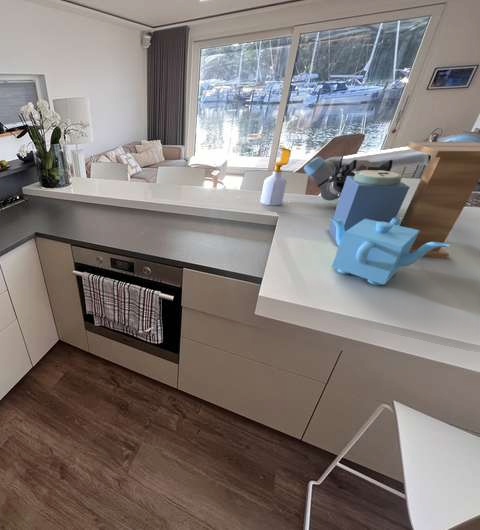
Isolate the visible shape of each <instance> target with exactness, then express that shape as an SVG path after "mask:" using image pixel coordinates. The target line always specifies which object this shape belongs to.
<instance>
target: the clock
mask: <svg viewBox="0 0 480 530" xmlns="http://www.w3.org/2000/svg"><path fill="white" fill-rule="evenodd" d="M355 170H356V171H357V172H355V173H356V174H355V176H354V180H355V181H357V182H360V183H365V184H371V185H396V184H399V183H400V181H401V182H402V178H403V174H402V173H398V172H394V171H391V170H390V171H381V170H379V167H378V166H377V165H375V164H373V163H371V162H370V161H368V160H357V163H356V168H355Z"/></svg>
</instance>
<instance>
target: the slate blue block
mask: <svg viewBox="0 0 480 530" xmlns="http://www.w3.org/2000/svg"><path fill="white" fill-rule="evenodd" d="M410 187H411V186H409V185H407V184H405V183H404V182H402V180H401V181H400V183H399V184H396V185H371V184H365V183H360V182H357V181H355V180H354V176H347V178H346V181H345V184H344V187H343V190H342V193H341V196H340V197H339V198H338V202H337V204H336V208H335V211H334V214H333V216H332V218H336V219H339V220H341V221H342V222H343V224H344V228H345V232H346V231H347V230H348V229H350V228H351V227H353V226H354V225H356V224H357V223H359V222H360V221H362V220H364V219H369V220H374V221H379V222H387V223H390V221H391V220H392V219H393V218H394V217H398V214H399V212H400V209H401V207H402V205H403V203H404V201H405V199H406V196H407V194H408V192H409V189H410ZM328 233H329V235H330V237H331V238H332V240H333V242H334V244H335V245H336V246H338V244H337V241H336V226H335V224H334V222H333V221H331V223H330V226H329V229H328ZM338 247H339V246H338Z"/></svg>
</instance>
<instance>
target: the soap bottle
mask: <svg viewBox="0 0 480 530" xmlns="http://www.w3.org/2000/svg"><path fill="white" fill-rule="evenodd" d="M276 149H279V150H281V155H280V160H279V161H278V162H272V163H271V165H273V166H274V167H275V169H273V170H272V174H271V175H270V176H267V177H266V178H265V179H264V181H263V185H262V190H261V195H260V200H259V202H260V203H261V204H262V205H265V206H272V207H273V206H276V207H277V206H280V205H282V203H283V200H284V196H285V191H286V187H287V180H286V178H285V177H284V176H282V172H283V170H282V169H281V168H282V167H283V166H285V165H288V163H289V161H290V156H291V150H290V149H288V148H285V147H281V146H276Z"/></svg>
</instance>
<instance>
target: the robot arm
mask: <svg viewBox="0 0 480 530" xmlns="http://www.w3.org/2000/svg"><path fill="white" fill-rule="evenodd" d="M460 141H472V142H477V143H480V132H478V131H463V132H459V133H455V134H452V135H447V136H443V137H437V138H432V139H430V140H429V141H428V142H460ZM431 157H432V156H430V155H427V154H425V153H422V152H419V151H416V150H413V149H411V148H408V145H406V146H398V147H393V148H386V149H379V150H373V151H367V152H362V153H355V154H349V155H348V154H347V155H342V156H331V157H328V158H326V159H323V158H322V156H317V157H315V158H313V159H312V160H310V161H309V162H308V163H307V164H306V165H304V166H303V171H304V172H305V174H306V176H307V177H308V178H310V180H311V181H312V182H313V183H314V184H315V185H316V186H317V187H318V189H319V191H320V197H321V198H322V199H323V200H325V201H329V202H331V201H335V200H337V199H338V200H339V199H340V196H341V193H342V190H343V187H344V184H345V181H346V178H347V176H355V174H356V172H357V171H356V170H355V168H356V163H357V160H368V161H370V162H371V163H373V164H375V165H377V166H378V167H379V170H381V171H390V172H391V170H392V169H395V168H405V167H413V166H421V165H422V166H423V165H424V166H427V165H428V163H429V161H430V159H431Z"/></svg>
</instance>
